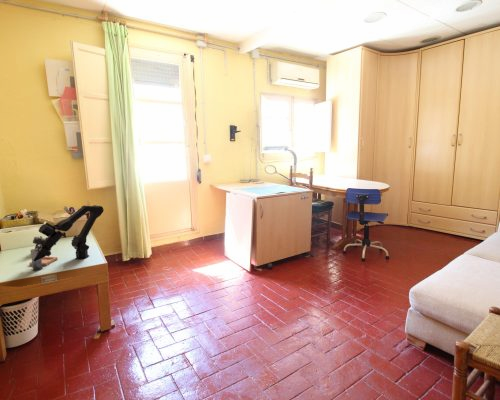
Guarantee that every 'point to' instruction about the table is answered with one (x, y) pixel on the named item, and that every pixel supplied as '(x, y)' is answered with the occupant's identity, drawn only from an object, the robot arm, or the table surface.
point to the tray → (47, 260)
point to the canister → (36, 264)
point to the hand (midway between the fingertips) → (33, 259)
